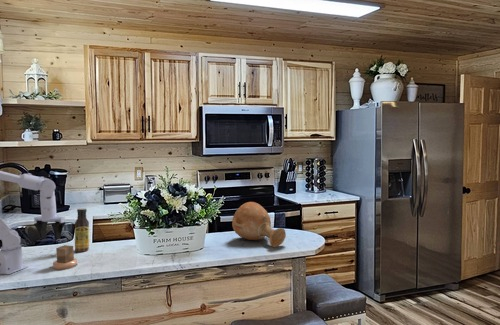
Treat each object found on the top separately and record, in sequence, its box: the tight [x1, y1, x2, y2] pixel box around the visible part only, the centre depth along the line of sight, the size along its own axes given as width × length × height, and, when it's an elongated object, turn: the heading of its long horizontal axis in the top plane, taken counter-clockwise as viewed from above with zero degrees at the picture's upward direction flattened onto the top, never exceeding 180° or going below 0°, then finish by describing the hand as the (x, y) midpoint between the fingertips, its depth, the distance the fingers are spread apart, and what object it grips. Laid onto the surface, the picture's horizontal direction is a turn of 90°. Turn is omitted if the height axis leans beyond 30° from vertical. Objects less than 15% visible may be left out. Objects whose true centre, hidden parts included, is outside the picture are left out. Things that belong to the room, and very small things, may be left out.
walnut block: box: [55, 244, 75, 263], centre depth 163 cm, size 4×4×6 cm
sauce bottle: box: [74, 207, 90, 253], centre depth 186 cm, size 6×6×20 cm
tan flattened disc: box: [52, 257, 78, 271], centre depth 164 cm, size 9×9×2 cm
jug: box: [231, 201, 287, 248], centre depth 197 cm, size 20×19×30 cm
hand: (50, 238), depth 168 cm, fingers open, 7 cm apart
